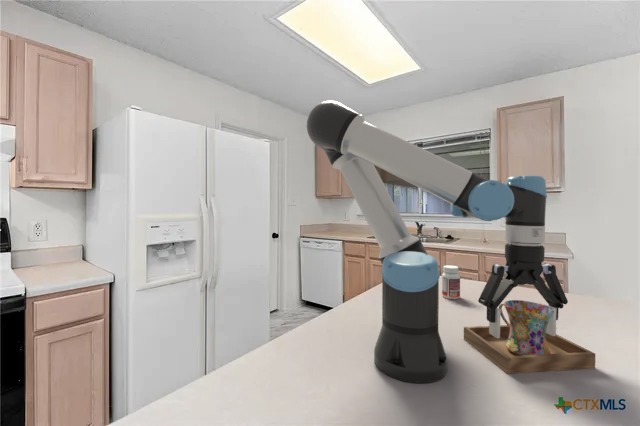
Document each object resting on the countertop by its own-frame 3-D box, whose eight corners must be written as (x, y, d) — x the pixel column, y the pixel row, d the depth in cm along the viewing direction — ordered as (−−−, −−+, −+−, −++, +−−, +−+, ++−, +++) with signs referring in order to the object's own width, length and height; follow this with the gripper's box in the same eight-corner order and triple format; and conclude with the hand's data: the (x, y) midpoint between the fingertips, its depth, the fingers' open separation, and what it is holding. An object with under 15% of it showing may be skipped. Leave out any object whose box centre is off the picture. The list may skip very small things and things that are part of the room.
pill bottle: (462, 297, 111) (462, 266, 110) (456, 300, 106) (456, 269, 106) (446, 293, 115) (446, 264, 115) (439, 297, 111) (439, 266, 110)
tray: (507, 373, 61) (507, 358, 61) (463, 339, 76) (463, 327, 76) (595, 368, 62) (595, 353, 62) (535, 335, 78) (535, 323, 78)
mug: (563, 359, 65) (564, 311, 65) (531, 366, 62) (532, 316, 62) (513, 336, 76) (514, 295, 76) (484, 341, 74) (484, 298, 73)
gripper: (483, 246, 64) (481, 344, 65) (590, 245, 66) (587, 339, 67) (463, 241, 71) (461, 329, 72) (559, 241, 73) (557, 326, 74)
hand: (521, 334), depth 69 cm, fingers open, 13 cm apart
